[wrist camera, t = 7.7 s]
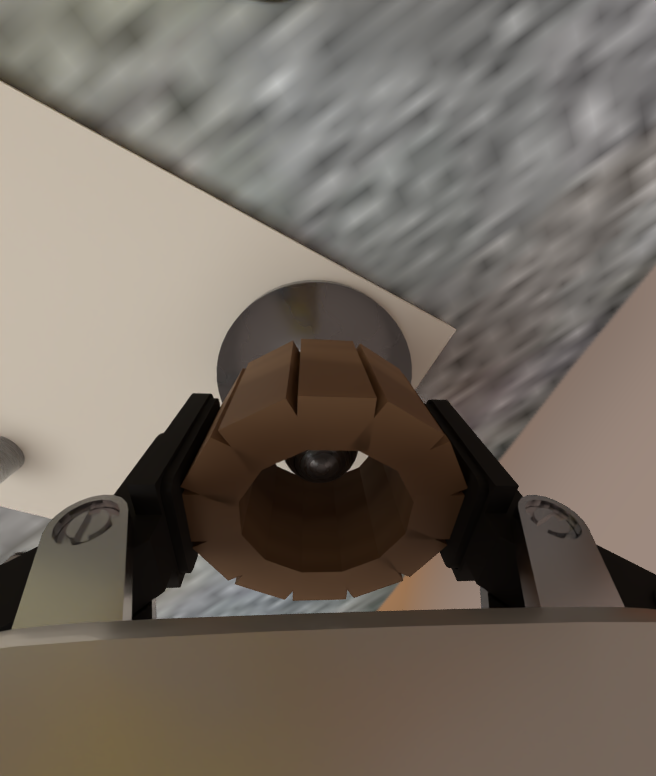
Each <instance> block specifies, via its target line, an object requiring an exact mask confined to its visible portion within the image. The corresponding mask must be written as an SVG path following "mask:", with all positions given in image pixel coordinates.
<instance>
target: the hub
mask: <svg viewBox="0 0 656 776" xmlns="http://www.w3.org/2000/svg"><path fill="white" fill-rule="evenodd" d="M301 339H320V340H342V341H353V343H354V345H355V348H357V347H358V345H359V344H362V345H363V346H365V347H367V348H368V349H370V350H371V351H373V352H374V353H376V354H377V355H379V356H380V357H382V358H384V359H385V360H387V361H388V362H390V363H391V364H393V365H394V366H396V367H397V368H399V369H400V371H401V372H402V374H404V375H405V377H406V378H407V380H408V381H409V383H410V384H411V380H412V363H411V356H410V351H409V348H408V345H407V342H406V339H405V337H404V335H403V333H402V331H401V329H400V328H399V326H398V325H397V323H396V322H395V320H394V319H393V318H392V317H391V316H390V315H389V314H388V312H387V311H386V310H385V309H384V308H383V307H381V306H380V305H379V304H378V303H377V302H376V301H374V300H373V299H372V298H371V297H369V296H367V295H366V294H364V293H363V292H361V291H359V290H357V289H355V288H352V287H350V286H348V285H344V284H341V283H337V282H332V281H325V280H304V281H297V282H292V283H288V284H285V285H281V286H279V287H277V288H274V289H272V290H270V291H268V292H266V293H265V294H263V295H261V296H260V297H258V298H257V299H256V300H254V301H253V302H252V303H251V304H250V305H248V306H247V307H246V309H245V310H244V311H243V312H242V313H241V314H240V315H239V316H238V318H237V319H236V320H235V321H234V323H233V324H232V326H231V327H230V329H229V330H228V332H227V334H226V336H225V338H224V340H223V342H222V345H221V348H220V352H219V355H218V361H217V385H218V391H219V394H220V398H221V401H222V403H223V401H224V400H225V398H226V396H227V394H228V393H229V391H230V389H231V388H232V386H233V384H234V383H235V381H236V379H237V377H238V376H239V374H240V372H241V371H242V369H243V368H245V369H246V367H247V365H248V363H249V362H251V361H253V360H255V359H257V358H259V357H261V356H263V355H265V354H267V353H269V352H271V351H273V350H275V349H277V348H279V347H281V346H283V345H285V344H287V343H289V342H291V341H294V343H295V344H296V346H297V348H298V350H299V351H300V349H301ZM357 454H358V451H333V450H306V451H304V452H302V453H299V454H297V455H295V456H292V457H290V458H288V459H286V460H285V463H286V464H287V466H288V467H289V468H290V470H291V471H292V472H293V473H294V474H295V475H297V476H298V477H300V478H302V479H303V480H306V481H309V482H313V483H326V482H331V481H333V480H336V479H338V478H340V477H341V476H343V475H344V474H345V473H346V472H347V471H348V470H349V469H350V468H351V467H352V465H353V463H354V462H355V460H356V457H357Z"/></svg>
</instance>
